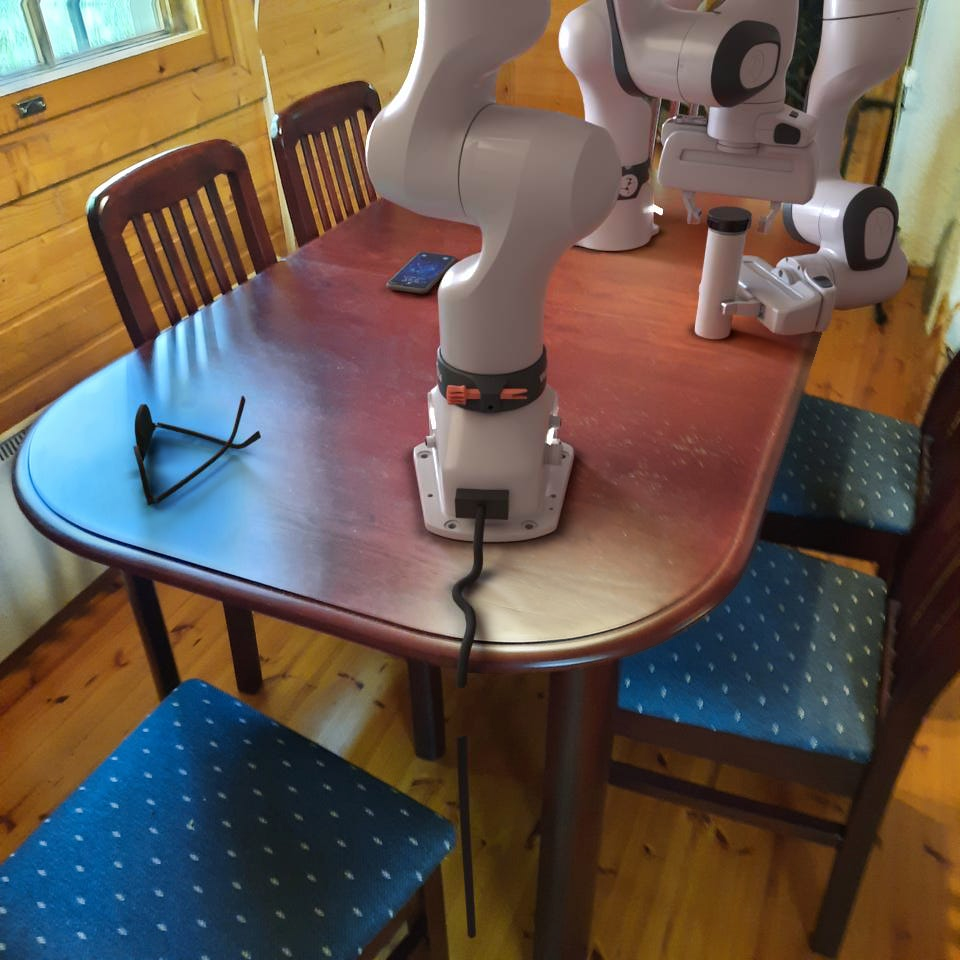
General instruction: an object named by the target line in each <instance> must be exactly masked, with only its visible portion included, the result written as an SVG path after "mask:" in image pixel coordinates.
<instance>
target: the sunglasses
mask: <svg viewBox="0 0 960 960" xmlns="http://www.w3.org/2000/svg"><path fill="white" fill-rule="evenodd" d="M245 404H246V398H245V396H244V395H241V396H240V401H239V405H238V408H237V409H238V410H237V413H236V417H235V421H234V425H233V429H232V432H231V435H230V437H229V439H228V440H227V441H226V440H223V439H220V438H217V437H214V436H211V435H208V434H204V433H201V432H198V431H195V430H192V429H188V428H184V427H180V426H176V425H172V424H169V423H164V422H159V421H157V422H153V418H152V414H151V411H150V408H149V406H148V404H146V403H142V404H140V405H139V406H138V409H137V411H136V413H135V418H134V436H135V444H136V445H133V447H132V448H133V452H134V455H135V460H136V463H137V467H138V471H139V475H140V479H141V485H142V489H143V493H144V497H145V500H146V503H147V505H148V506H151V505H154V504H155V501H156V503H157V504H160V503H162V501H164V500H165V499H167V498H168V497H170V496H171V495H172V494H174V493H175V492H177V491H178V490H179V489H181V488H182V487H184V486H185V485H187V484H188V483H189V482H191V481H192V480H193V479H194V478H196V477H197V476H198V475H200V474H202V473H203V472H204V471H205V470H206V469H208V467H210V466H211V465H212V464H213V463H215V462H216V461H217V460H218V459H220V457H222V455H223V454H224V453H225V452H226V451H228V449H229V448H231V449H233V450H242V449H246V448H247V447H249V446H250V445H252V444H254V443H255V442H256V441H258V440H260V439H261V438H262V435H261V432H260V430H256V431H255V432H254V433H253V434H252V435H250V436H249V437H248V438H247V439H246V440H245V441H244V442H241V443H233V442H234V441H235V438H236V435H237V434H238V429H239V426H240V423H241V419H242V415H243V412H244V409H245ZM157 428H160V429H164V430H168V431H172V432H175V433H179V434H183V435H188V436H191V437H195V438H199V439H202V440H205V441H209V442H211V443H215V444H218V445H221V446H223V447H221V449H220V450H219V451H217V452H216V453H215V454H214V455H213V456H212V457H211V458H209V459H208V460H207V461H206V462H204V463H203V464H202V465H200V466H199V467H198V468H196V469H195V470H193V471H192V472H191V473H189V474H188V475H187V476H186V477H184V478H183V479H180V481H178V482H177V483H176V484H174V485H172V486H171V487H169V488H168V489H166V490H165V491H163V492H162V493H161V494H160V495H158V496H157V497H154V495H152V491H151V487H150V484H149V479H148V474H147V470H146V467H145V463H144V461H145V459H146V456H147V453H148V450H149V448H150V445H151V442H152V438H153V435H154V432H155V430H157Z"/></svg>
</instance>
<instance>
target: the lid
mask: <svg viewBox="0 0 960 960" xmlns="http://www.w3.org/2000/svg"><path fill="white" fill-rule="evenodd" d="M752 222H753V213H752V212H751V211H750V210H749V209H745V208H743V207H738V206H729V205H728V206H727V205H725V206H716V207H713V208H711V209H709V210H708V214H707V216H706V226H707V227H708V229H709V228H711V229H713V230H716V231H719V232H725V233H738V232H743V231H746V230H747V231H749V229H751V226H752Z"/></svg>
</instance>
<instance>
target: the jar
mask: <svg viewBox="0 0 960 960" xmlns="http://www.w3.org/2000/svg"><path fill="white" fill-rule="evenodd" d="M747 233H748V230H746V231H743V232H738V233H725V232H719V231H716V230H713V229H711V228H709V227H708V230H707V236H706V245H705V252H704V258H703V265H702V266H703V267H702V274H701V280H700V283H701V287H700V294H699V293H698V294H699V295H698V303H697V310H696V315H695V316H696V317H695V323H694V333H695V334H696V335H697V336H698V337H700V338H704V339H707V340H722V339H726V338H727V337H729V336H730V334H731V329H732V323H733V318H734V317H733V316H734V315H731V316H725V315H724V314H723V313H722V312H720V303H721V302H722V301H723V300H729V299H733V300H734V301H735V299H736V293H737V287H738V281H739V275H740V269H741V263H742V257H743V255H744V251H745V244H746V239H747Z"/></svg>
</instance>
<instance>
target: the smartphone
mask: <svg viewBox="0 0 960 960" xmlns="http://www.w3.org/2000/svg"><path fill="white" fill-rule="evenodd" d="M456 263H457V257H456V255H451V254H445V253H444V254H443V253H436V252H428V251H420V252H417V253H416V254H415V255H414V257H412V258H411V259H410V260H409V261H408V262H407V263H406V264H405V265H404V266H403V267H402V268H401V269H400V270H399V271H398V272H397V273H396V274H395V275H394V276H392V278H390V279H389V280H388V281H387V283H386V289H389V290H392V291H399V292H405V293H413V294H419V295H424V294H427V293H428V292H429V291H430V290H432V288H433V287H434V286H435V285H436V284H437V283H438V282H439V281H440V280H441V279H442V278H443V277H444V276H445V274H446V273H447V271H448V270H449V269H450V268H451V267H452V266H453V265H455V264H456Z"/></svg>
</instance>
